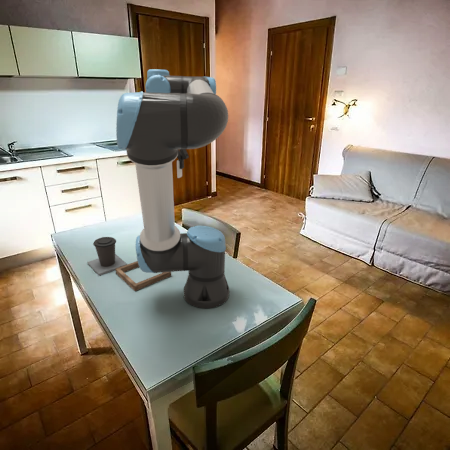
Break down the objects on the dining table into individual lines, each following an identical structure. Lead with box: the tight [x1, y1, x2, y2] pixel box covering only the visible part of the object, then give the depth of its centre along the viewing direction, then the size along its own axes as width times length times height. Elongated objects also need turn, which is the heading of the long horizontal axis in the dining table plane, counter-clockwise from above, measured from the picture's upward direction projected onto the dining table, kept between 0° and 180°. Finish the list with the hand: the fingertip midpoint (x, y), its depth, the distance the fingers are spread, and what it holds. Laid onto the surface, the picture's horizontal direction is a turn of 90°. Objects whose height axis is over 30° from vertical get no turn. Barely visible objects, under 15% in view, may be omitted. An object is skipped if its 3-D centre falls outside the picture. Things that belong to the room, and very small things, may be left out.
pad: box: [86, 253, 128, 277], centre depth 122 cm, size 11×11×1 cm
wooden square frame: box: [115, 260, 172, 292], centre depth 116 cm, size 14×14×3 cm
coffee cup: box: [92, 236, 117, 267], centre depth 119 cm, size 8×8×10 cm
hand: (163, 175), depth 123 cm, fingers open, 13 cm apart
